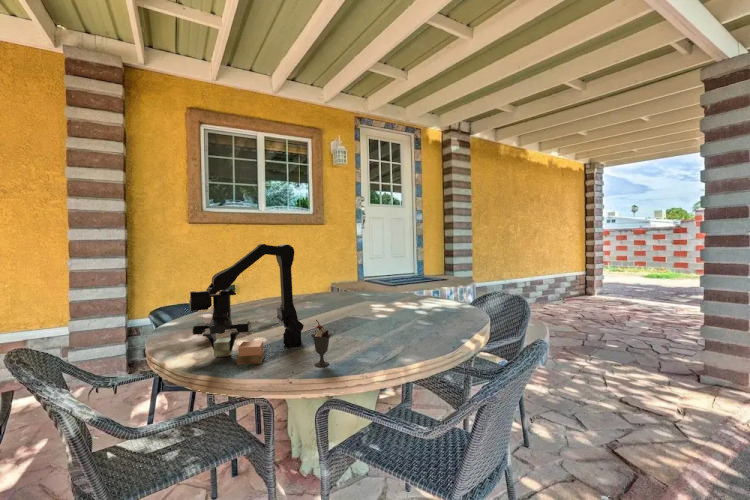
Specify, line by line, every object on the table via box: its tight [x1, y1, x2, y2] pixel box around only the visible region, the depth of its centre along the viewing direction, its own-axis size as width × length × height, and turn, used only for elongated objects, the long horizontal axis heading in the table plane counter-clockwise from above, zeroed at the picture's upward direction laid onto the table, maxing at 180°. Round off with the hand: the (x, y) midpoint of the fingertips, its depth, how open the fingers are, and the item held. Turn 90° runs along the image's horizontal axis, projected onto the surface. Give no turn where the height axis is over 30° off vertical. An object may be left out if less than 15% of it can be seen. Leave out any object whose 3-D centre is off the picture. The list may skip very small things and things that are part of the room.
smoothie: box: [202, 305, 218, 341], centre depth 155 cm, size 6×6×14 cm
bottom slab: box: [236, 347, 266, 366], centre depth 127 cm, size 8×8×3 cm
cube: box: [213, 337, 233, 358], centre depth 132 cm, size 5×5×5 cm
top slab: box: [237, 340, 264, 356], centre depth 127 cm, size 7×7×3 cm
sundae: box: [310, 319, 332, 368], centre depth 122 cm, size 7×7×15 cm
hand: (223, 351), depth 132 cm, fingers closed on cube, 5 cm apart
